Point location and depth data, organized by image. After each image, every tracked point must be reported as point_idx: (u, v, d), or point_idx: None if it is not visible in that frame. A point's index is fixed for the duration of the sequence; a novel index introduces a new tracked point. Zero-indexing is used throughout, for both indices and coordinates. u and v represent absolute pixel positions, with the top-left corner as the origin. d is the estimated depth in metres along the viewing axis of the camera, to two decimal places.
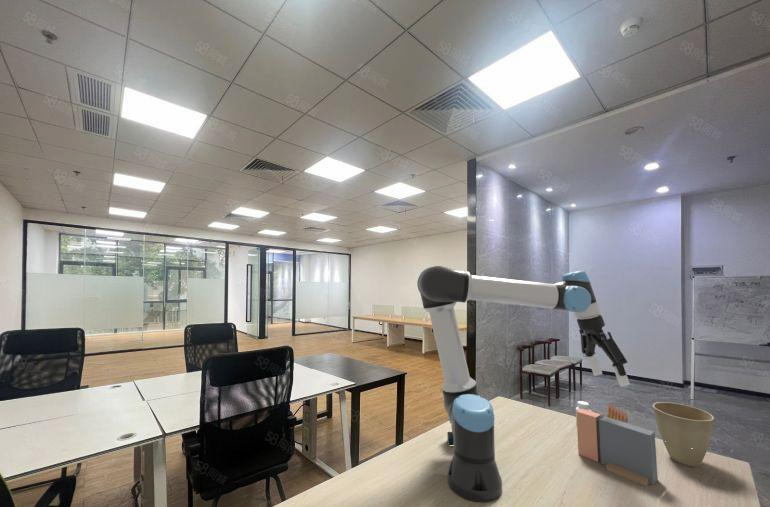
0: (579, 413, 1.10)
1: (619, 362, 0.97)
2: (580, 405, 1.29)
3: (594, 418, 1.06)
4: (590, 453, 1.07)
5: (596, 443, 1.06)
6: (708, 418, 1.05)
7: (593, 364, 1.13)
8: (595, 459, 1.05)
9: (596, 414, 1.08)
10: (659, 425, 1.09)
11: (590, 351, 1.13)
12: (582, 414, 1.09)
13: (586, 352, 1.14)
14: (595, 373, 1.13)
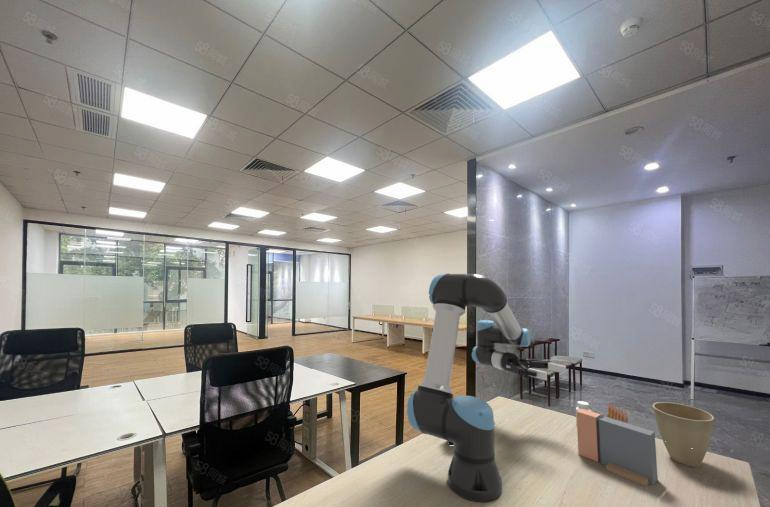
0: (579, 413, 1.10)
1: None
2: (580, 405, 1.29)
3: (594, 418, 1.06)
4: (590, 453, 1.07)
5: (596, 443, 1.06)
6: (708, 418, 1.05)
7: None
8: (595, 459, 1.05)
9: (596, 414, 1.08)
10: (659, 425, 1.09)
11: None
12: (582, 414, 1.09)
13: (524, 367, 1.21)
14: None
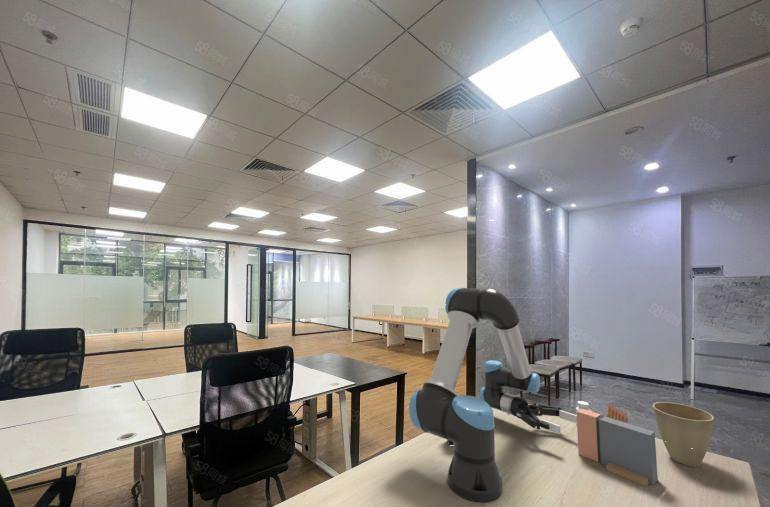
0: (579, 413, 1.10)
1: None
2: (580, 405, 1.29)
3: (594, 418, 1.06)
4: (590, 453, 1.07)
5: (596, 443, 1.06)
6: (708, 418, 1.05)
7: None
8: (595, 459, 1.05)
9: (596, 414, 1.08)
10: (659, 425, 1.09)
11: None
12: (582, 414, 1.09)
13: (536, 418, 1.17)
14: None
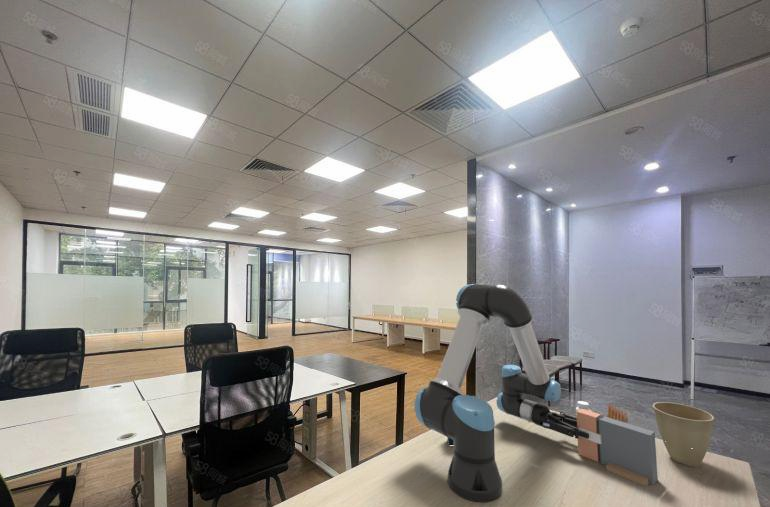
0: (579, 413, 1.10)
1: None
2: (580, 405, 1.29)
3: (594, 418, 1.06)
4: (590, 453, 1.07)
5: (596, 443, 1.06)
6: (708, 418, 1.05)
7: None
8: (595, 459, 1.05)
9: (596, 414, 1.08)
10: (659, 425, 1.09)
11: None
12: (582, 414, 1.09)
13: (572, 426, 1.10)
14: None
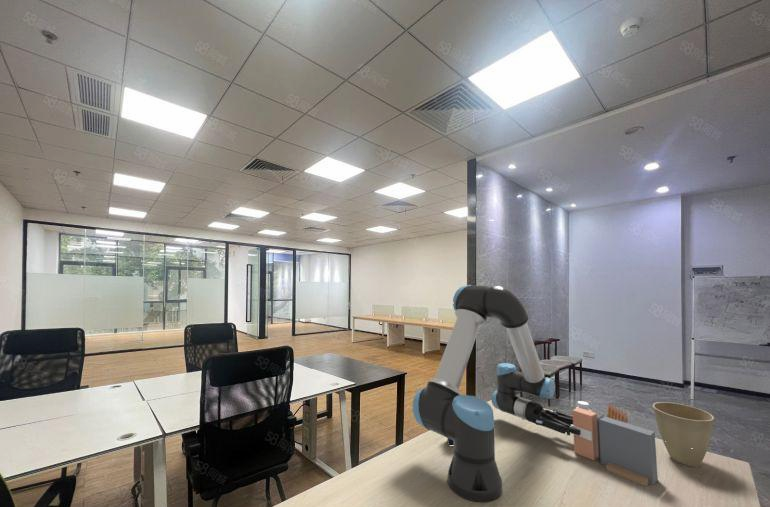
0: (575, 412, 1.11)
1: None
2: (580, 405, 1.29)
3: (590, 416, 1.07)
4: (585, 452, 1.08)
5: (591, 442, 1.07)
6: (708, 418, 1.05)
7: None
8: (591, 457, 1.06)
9: (592, 413, 1.09)
10: (659, 425, 1.09)
11: None
12: (578, 413, 1.10)
13: (564, 423, 1.13)
14: None
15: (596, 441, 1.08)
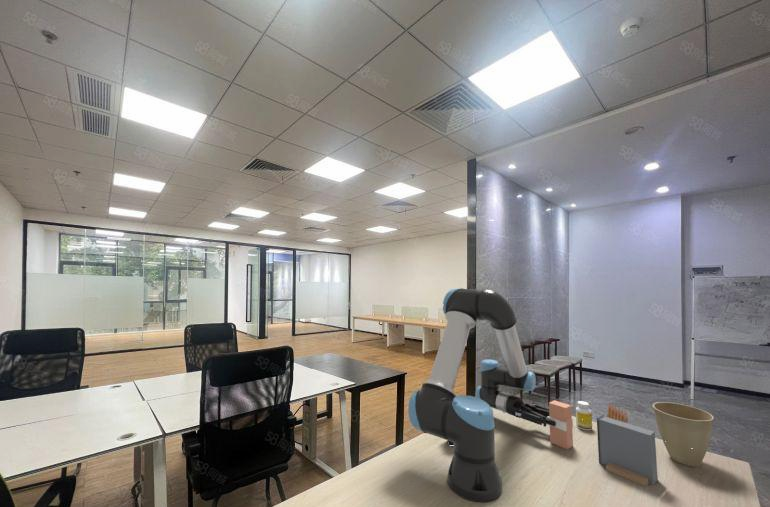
0: (551, 404, 1.18)
1: None
2: (580, 405, 1.29)
3: (564, 408, 1.14)
4: (560, 442, 1.15)
5: (566, 432, 1.13)
6: (708, 418, 1.05)
7: None
8: (565, 447, 1.13)
9: (567, 405, 1.16)
10: (659, 425, 1.09)
11: None
12: (554, 405, 1.17)
13: (541, 415, 1.19)
14: None
15: (570, 432, 1.14)
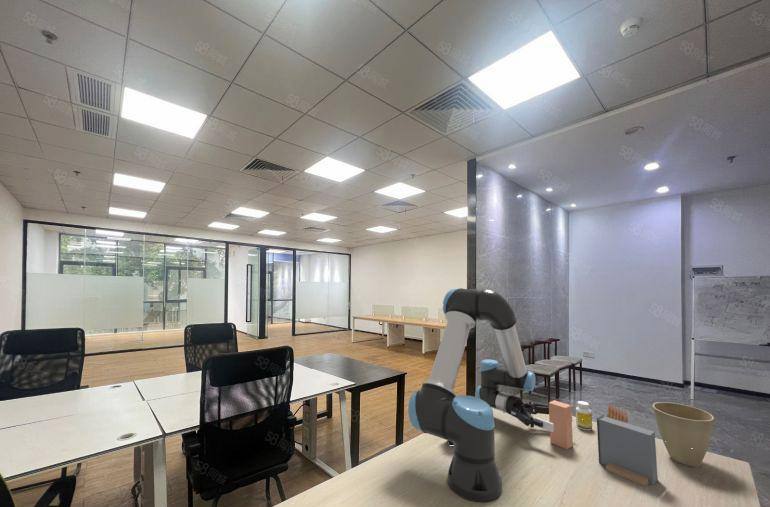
0: (551, 404, 1.18)
1: None
2: (580, 405, 1.29)
3: (564, 408, 1.14)
4: (560, 442, 1.15)
5: (565, 432, 1.13)
6: (708, 418, 1.05)
7: None
8: (565, 447, 1.13)
9: (566, 405, 1.16)
10: (659, 425, 1.09)
11: None
12: (554, 405, 1.17)
13: (530, 416, 1.19)
14: None
15: (570, 431, 1.15)
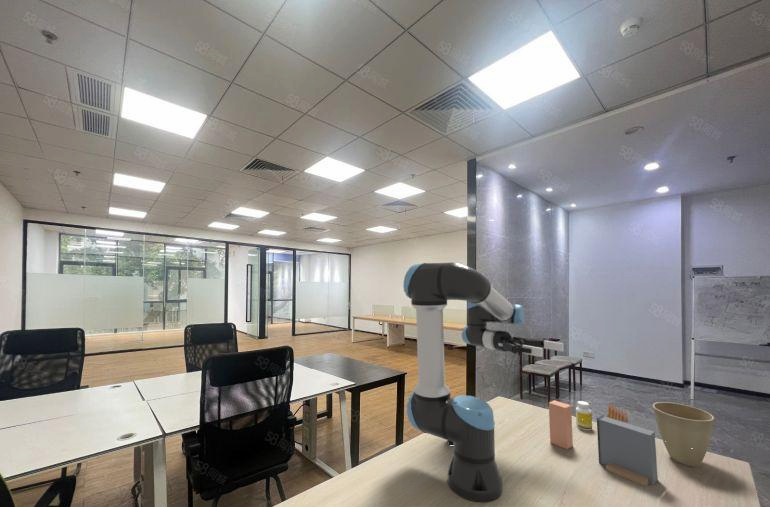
0: (551, 404, 1.18)
1: None
2: (580, 405, 1.29)
3: (564, 408, 1.14)
4: (560, 442, 1.15)
5: (565, 432, 1.13)
6: (708, 418, 1.05)
7: None
8: (565, 447, 1.13)
9: (566, 405, 1.16)
10: (659, 425, 1.09)
11: None
12: (554, 405, 1.17)
13: (518, 344, 1.10)
14: None
15: (570, 431, 1.15)
